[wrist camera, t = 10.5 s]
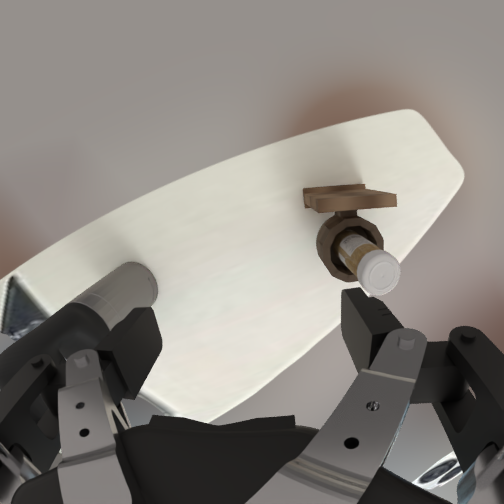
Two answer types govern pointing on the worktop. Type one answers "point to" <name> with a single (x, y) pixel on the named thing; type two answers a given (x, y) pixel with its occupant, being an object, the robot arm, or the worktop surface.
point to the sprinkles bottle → (367, 262)
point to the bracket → (345, 219)
